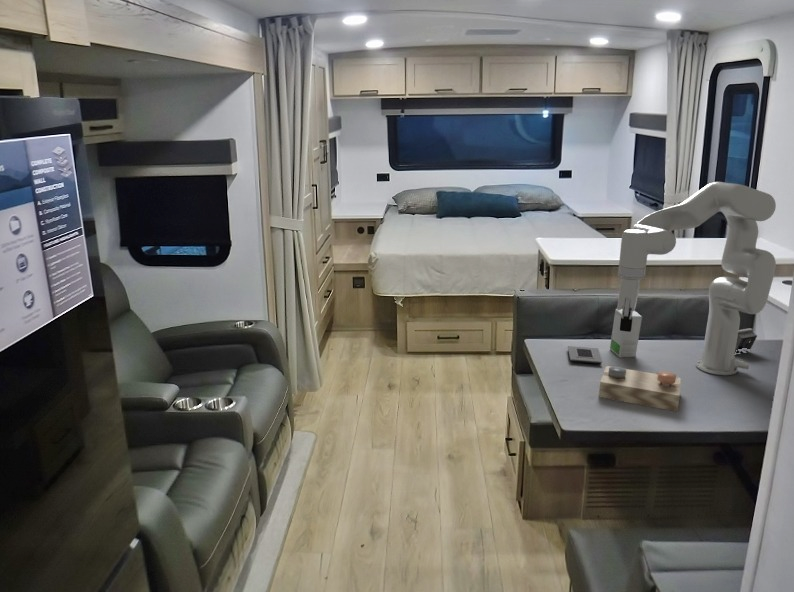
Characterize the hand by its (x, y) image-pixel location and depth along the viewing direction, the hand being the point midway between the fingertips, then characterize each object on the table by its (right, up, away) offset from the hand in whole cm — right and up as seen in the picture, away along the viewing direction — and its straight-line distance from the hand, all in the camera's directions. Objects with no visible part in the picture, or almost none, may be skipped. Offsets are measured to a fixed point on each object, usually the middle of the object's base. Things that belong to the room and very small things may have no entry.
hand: (625, 330), depth 194 cm
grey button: (-2, -18, +4) cm, 19 cm away
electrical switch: (+54, -10, +37) cm, 67 cm away
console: (+5, -20, +2) cm, 20 cm away
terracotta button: (+11, -19, -2) cm, 22 cm away
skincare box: (+12, -10, +35) cm, 39 cm away
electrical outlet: (-4, -12, +31) cm, 33 cm away
